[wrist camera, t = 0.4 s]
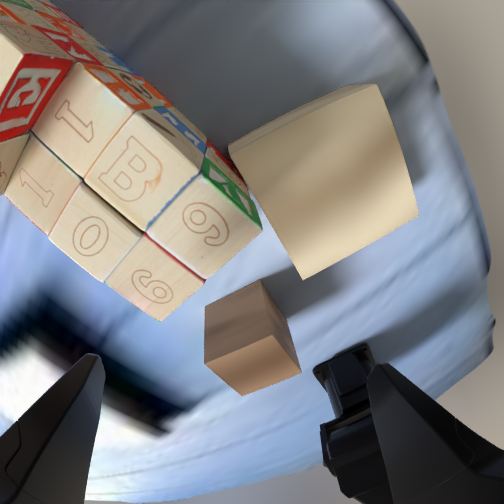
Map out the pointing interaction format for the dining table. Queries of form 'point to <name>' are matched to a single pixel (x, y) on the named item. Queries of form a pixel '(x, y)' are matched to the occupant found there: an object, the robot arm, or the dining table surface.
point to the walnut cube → (249, 340)
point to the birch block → (328, 176)
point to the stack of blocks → (112, 164)
